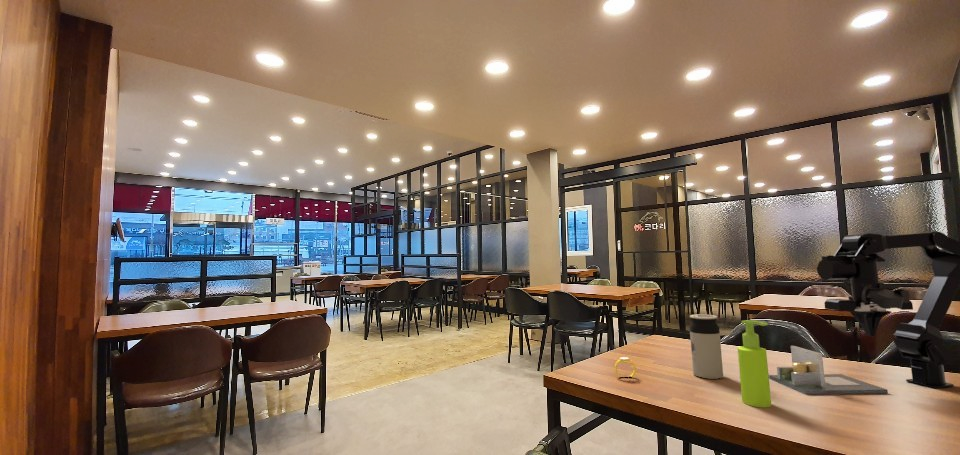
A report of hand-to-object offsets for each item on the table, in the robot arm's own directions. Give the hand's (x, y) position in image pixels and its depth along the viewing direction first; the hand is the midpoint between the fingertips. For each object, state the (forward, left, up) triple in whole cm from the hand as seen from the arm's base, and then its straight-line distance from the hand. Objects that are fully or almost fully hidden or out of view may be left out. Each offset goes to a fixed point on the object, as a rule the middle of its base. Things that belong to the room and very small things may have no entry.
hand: (871, 336), depth 108 cm
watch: (+59, -27, -13) cm, 66 cm away
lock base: (+13, -4, -13) cm, 19 cm away
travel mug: (+35, -21, -13) cm, 43 cm away
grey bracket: (+20, -5, -12) cm, 23 cm away
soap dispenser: (+41, +2, -13) cm, 43 cm away
